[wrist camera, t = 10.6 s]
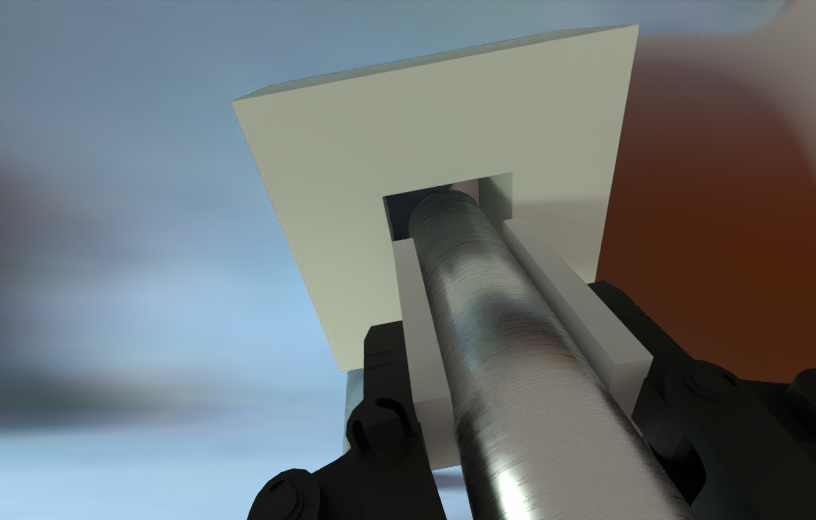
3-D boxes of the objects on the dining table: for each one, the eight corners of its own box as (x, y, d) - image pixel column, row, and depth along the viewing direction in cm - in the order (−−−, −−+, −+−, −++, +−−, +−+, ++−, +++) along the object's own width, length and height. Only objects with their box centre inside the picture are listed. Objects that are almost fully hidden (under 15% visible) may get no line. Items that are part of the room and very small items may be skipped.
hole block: (345, 309, 22) (340, 372, 18) (269, 85, 15) (230, 101, 11) (544, 271, 22) (587, 325, 18) (562, 30, 15) (639, 24, 11)
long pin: (414, 263, 16) (536, 823, 5) (402, 198, 15) (555, 851, 3) (483, 250, 16) (785, 775, 5) (480, 182, 15) (967, 770, 3)
